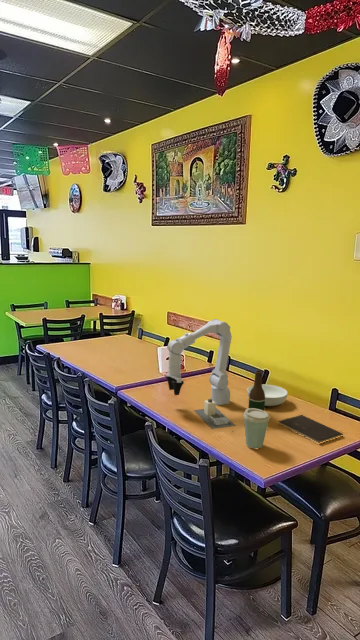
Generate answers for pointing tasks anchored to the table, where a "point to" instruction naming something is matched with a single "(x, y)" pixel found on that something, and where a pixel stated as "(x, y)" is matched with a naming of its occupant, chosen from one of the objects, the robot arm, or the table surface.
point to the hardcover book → (310, 428)
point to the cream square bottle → (209, 407)
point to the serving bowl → (272, 394)
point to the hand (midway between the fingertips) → (174, 392)
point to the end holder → (219, 420)
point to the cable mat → (217, 415)
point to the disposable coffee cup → (255, 427)
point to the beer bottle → (257, 393)
